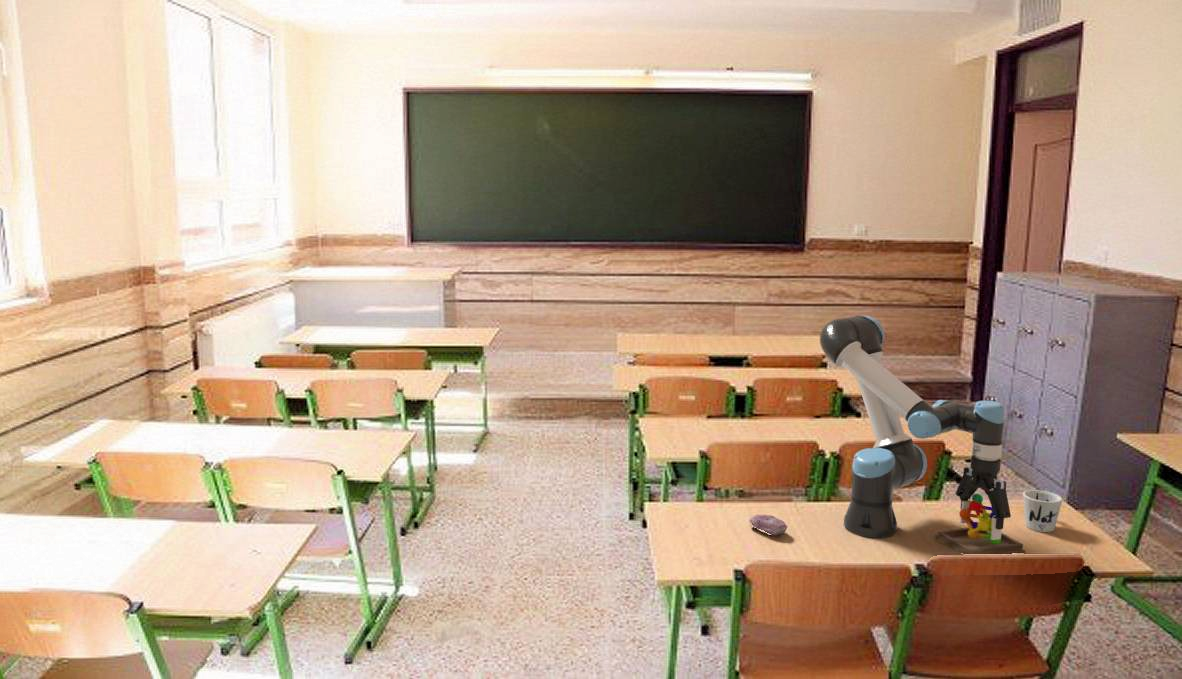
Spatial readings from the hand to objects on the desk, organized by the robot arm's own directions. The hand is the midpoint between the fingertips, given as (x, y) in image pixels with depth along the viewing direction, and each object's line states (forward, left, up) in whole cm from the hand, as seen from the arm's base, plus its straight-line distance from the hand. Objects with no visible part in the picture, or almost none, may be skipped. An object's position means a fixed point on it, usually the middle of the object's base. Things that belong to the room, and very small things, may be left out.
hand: (980, 530), depth 234 cm
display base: (0, 0, -5) cm, 5 cm away
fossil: (-26, -52, -5) cm, 59 cm away
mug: (-8, +28, -5) cm, 30 cm away
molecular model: (0, 0, -2) cm, 2 cm away
